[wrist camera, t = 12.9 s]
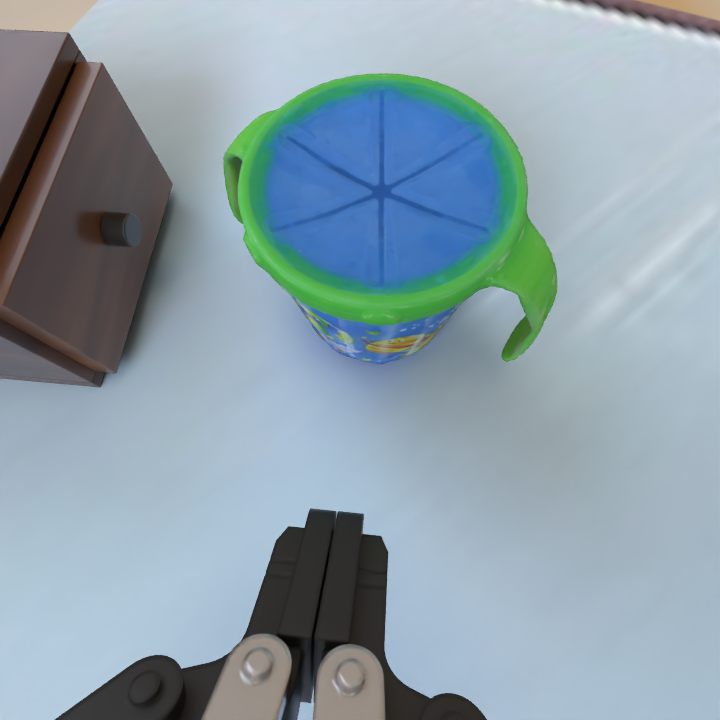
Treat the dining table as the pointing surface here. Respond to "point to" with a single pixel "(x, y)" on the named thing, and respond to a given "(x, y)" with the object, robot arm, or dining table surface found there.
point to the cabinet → (8, 164)
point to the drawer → (83, 225)
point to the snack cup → (388, 212)
